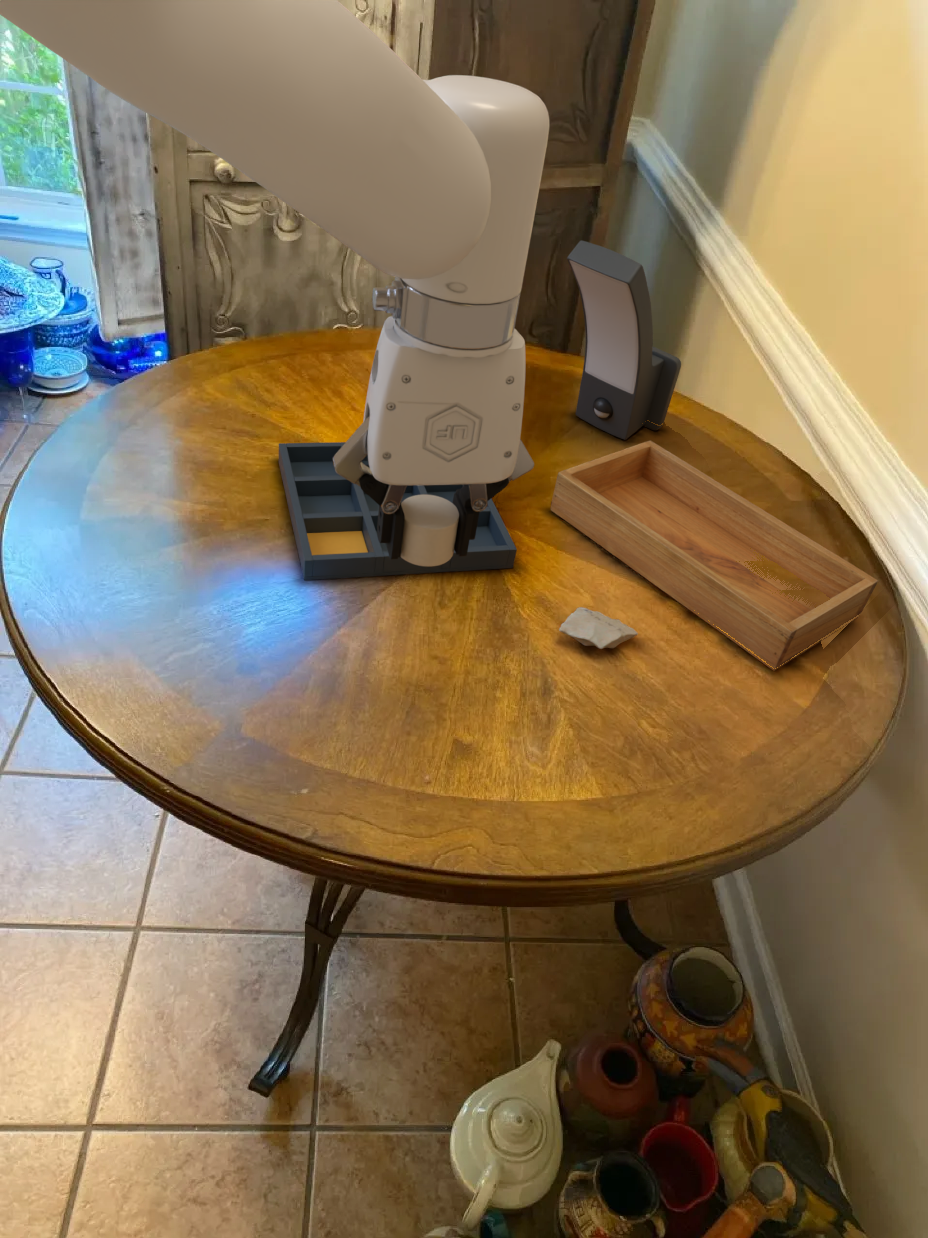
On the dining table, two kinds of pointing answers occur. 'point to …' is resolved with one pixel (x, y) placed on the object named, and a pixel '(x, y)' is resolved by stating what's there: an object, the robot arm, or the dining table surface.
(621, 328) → the light fixture
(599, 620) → the stone
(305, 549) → the grid
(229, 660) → the dining table surface
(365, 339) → the dining table surface
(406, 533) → the cylinder
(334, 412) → the dining table surface
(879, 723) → the dining table surface
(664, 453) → the tray
